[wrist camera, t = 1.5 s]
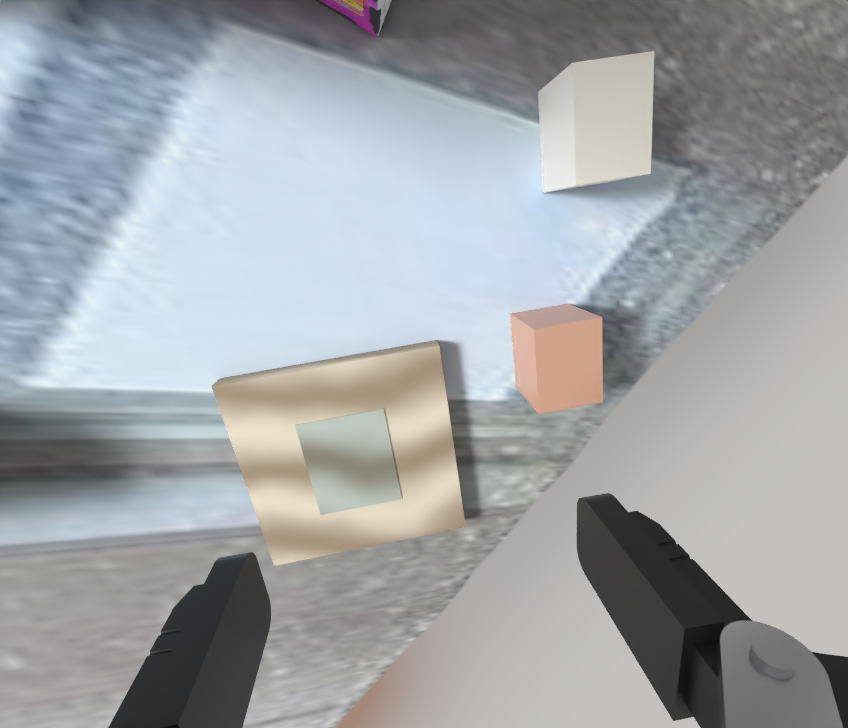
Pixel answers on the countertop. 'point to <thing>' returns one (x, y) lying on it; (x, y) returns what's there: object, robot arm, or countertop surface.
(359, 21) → the candy bar box
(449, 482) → the ash board
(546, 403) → the terracotta brick
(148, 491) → the countertop surface
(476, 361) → the countertop surface
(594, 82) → the cream brick
